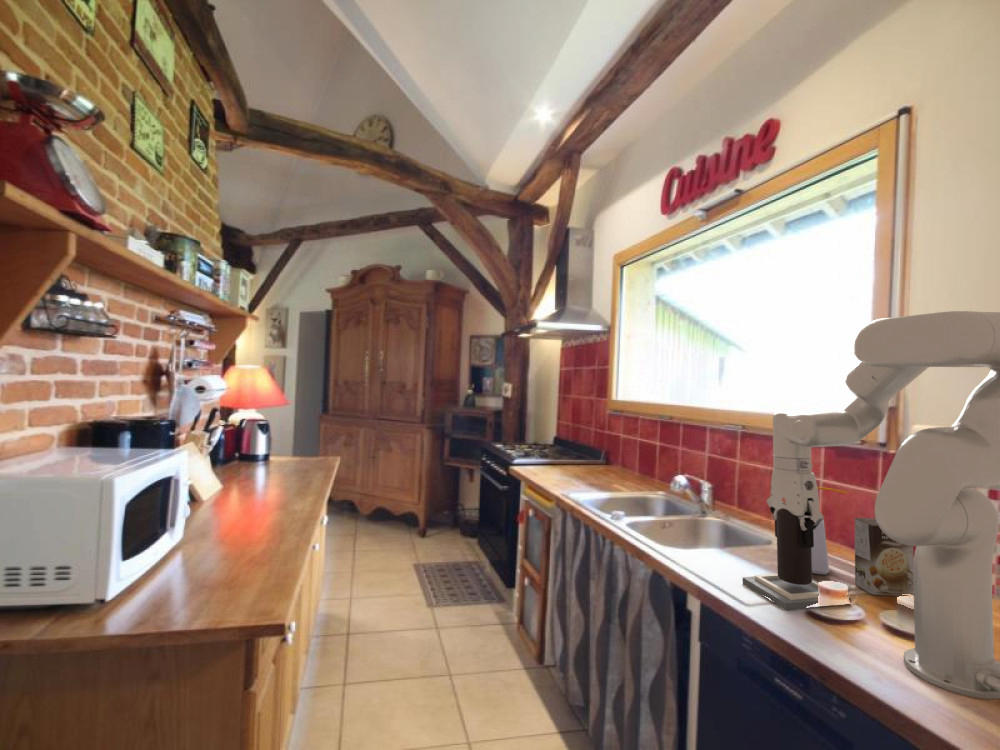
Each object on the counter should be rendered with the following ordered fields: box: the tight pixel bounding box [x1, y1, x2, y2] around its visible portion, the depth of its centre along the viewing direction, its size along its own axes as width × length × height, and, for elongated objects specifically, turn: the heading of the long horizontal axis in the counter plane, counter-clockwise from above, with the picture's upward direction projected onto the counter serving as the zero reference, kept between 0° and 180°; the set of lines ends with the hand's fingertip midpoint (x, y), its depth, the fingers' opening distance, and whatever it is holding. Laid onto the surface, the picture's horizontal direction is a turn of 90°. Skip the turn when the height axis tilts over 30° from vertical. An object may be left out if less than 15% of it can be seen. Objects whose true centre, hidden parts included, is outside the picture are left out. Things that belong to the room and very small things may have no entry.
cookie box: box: [854, 517, 914, 597], centre depth 112 cm, size 9×6×16 cm
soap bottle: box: [811, 486, 848, 575], centre depth 125 cm, size 10×14×22 cm
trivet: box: [742, 573, 852, 611], centre depth 110 cm, size 14×16×2 cm
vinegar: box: [776, 498, 813, 585], centre depth 110 cm, size 7×7×20 cm
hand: (793, 541), depth 110 cm, fingers closed on vinegar, 6 cm apart
